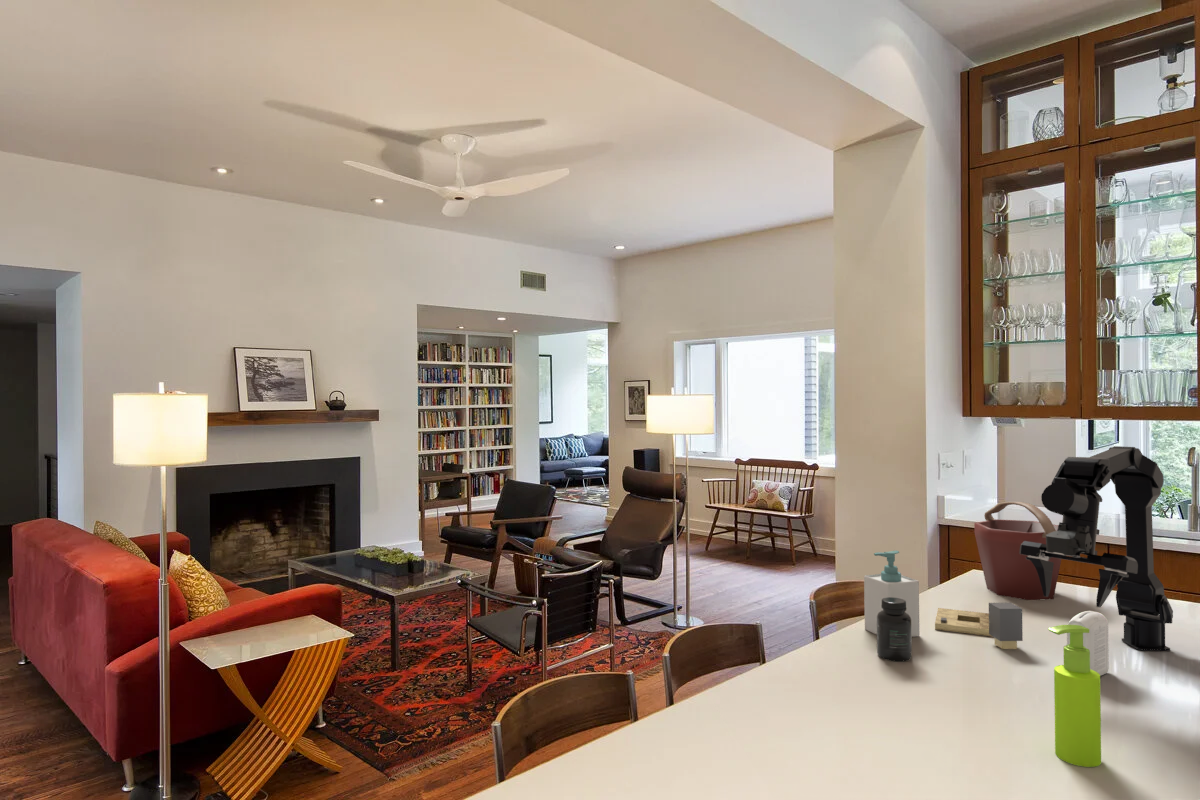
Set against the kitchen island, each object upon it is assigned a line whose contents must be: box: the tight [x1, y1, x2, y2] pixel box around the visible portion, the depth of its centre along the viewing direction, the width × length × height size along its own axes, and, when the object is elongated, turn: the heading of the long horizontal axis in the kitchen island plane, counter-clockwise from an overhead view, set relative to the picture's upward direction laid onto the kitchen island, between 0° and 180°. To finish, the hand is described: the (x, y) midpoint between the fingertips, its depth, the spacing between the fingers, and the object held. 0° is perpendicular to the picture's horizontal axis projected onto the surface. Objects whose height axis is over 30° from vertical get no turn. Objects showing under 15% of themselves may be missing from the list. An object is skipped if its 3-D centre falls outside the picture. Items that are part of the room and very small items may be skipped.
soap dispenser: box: [1047, 624, 1102, 768], centre depth 111 cm, size 6×7×20 cm
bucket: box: [973, 501, 1062, 601], centre depth 205 cm, size 24×22×25 cm
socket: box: [934, 607, 994, 638], centre depth 176 cm, size 14×14×2 cm
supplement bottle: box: [876, 597, 913, 663], centre depth 155 cm, size 7×7×12 cm
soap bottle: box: [863, 550, 921, 638], centre depth 171 cm, size 9×9×19 cm
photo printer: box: [1066, 610, 1110, 677], centre depth 144 cm, size 10×4×12 cm, turn 123°
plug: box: [988, 602, 1024, 650], centre depth 161 cm, size 5×5×9 cm
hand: (1071, 601), depth 140 cm, fingers open, 9 cm apart
